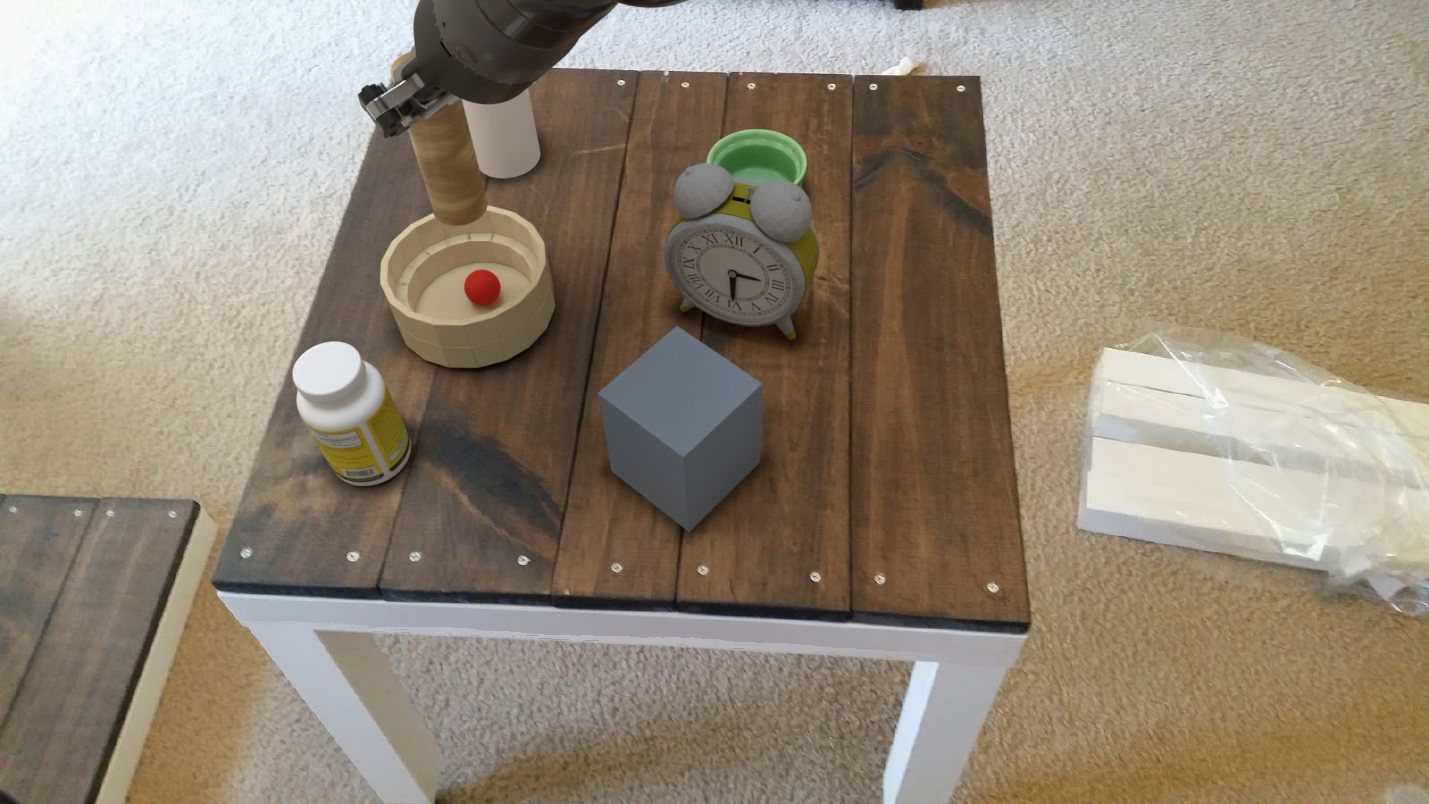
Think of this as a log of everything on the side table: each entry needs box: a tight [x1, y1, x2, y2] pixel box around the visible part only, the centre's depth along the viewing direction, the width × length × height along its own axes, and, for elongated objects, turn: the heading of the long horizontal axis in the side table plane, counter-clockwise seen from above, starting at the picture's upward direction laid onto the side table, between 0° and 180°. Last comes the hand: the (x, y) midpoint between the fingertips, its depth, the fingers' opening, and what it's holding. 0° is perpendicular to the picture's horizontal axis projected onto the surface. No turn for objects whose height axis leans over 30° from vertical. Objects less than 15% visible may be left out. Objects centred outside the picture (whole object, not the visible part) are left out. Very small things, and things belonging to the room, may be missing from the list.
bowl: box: [379, 205, 556, 369], centre depth 87 cm, size 13×13×6 cm
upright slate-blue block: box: [597, 325, 763, 533], centre depth 76 cm, size 8×8×10 cm
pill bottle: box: [291, 341, 412, 487], centre depth 76 cm, size 6×6×11 cm
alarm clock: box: [663, 162, 821, 341], centre depth 83 cm, size 12×7×15 cm, turn 70°
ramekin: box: [706, 128, 808, 189], centre depth 95 cm, size 9×9×4 cm
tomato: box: [464, 270, 501, 305], centre depth 88 cm, size 3×3×3 cm
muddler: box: [390, 51, 489, 226], centre depth 73 cm, size 4×4×12 cm
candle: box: [462, 87, 541, 179], centre depth 95 cm, size 6×6×15 cm
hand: (416, 104), depth 72 cm, fingers closed on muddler, 4 cm apart
